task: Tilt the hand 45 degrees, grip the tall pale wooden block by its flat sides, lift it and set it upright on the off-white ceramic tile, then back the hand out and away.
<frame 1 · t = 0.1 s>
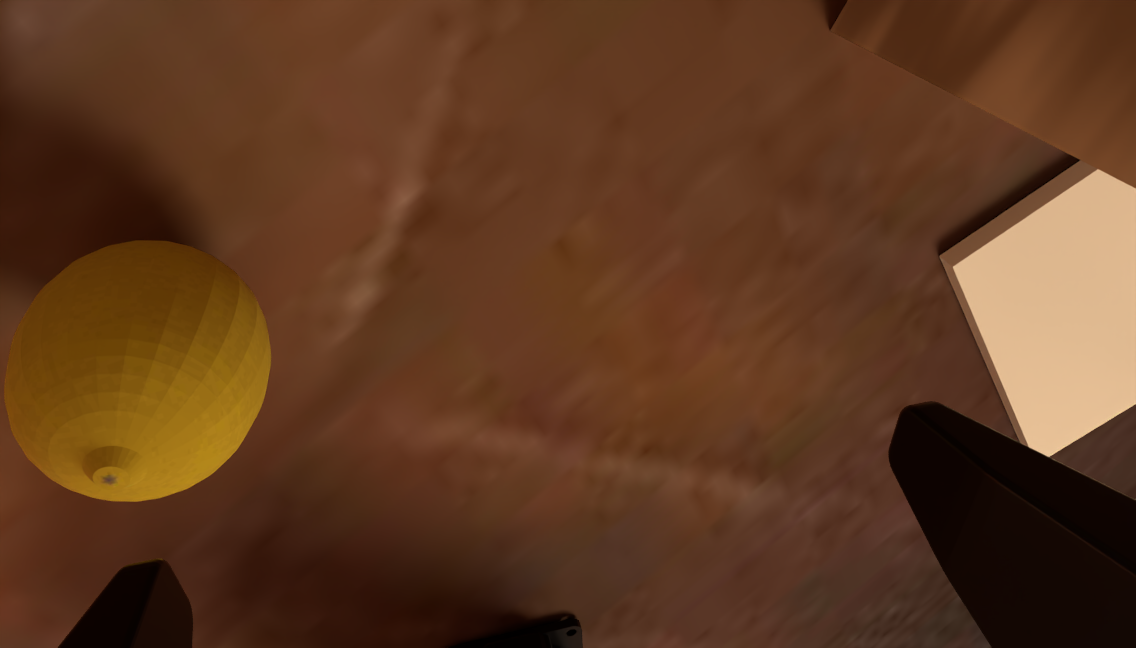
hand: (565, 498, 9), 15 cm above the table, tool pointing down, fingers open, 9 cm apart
lemon: (177, 275, 22), on the table
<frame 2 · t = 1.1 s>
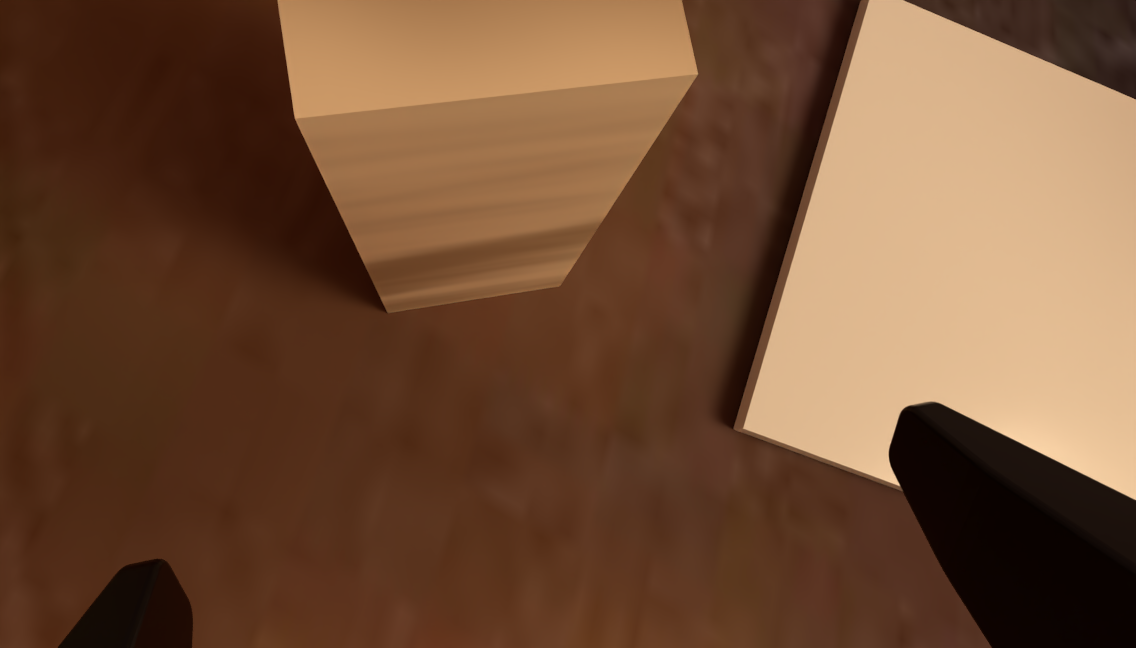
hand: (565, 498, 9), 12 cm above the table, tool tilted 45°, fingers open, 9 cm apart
wood block: (461, 216, 22), on the table
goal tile: (1012, 286, 25), on the table
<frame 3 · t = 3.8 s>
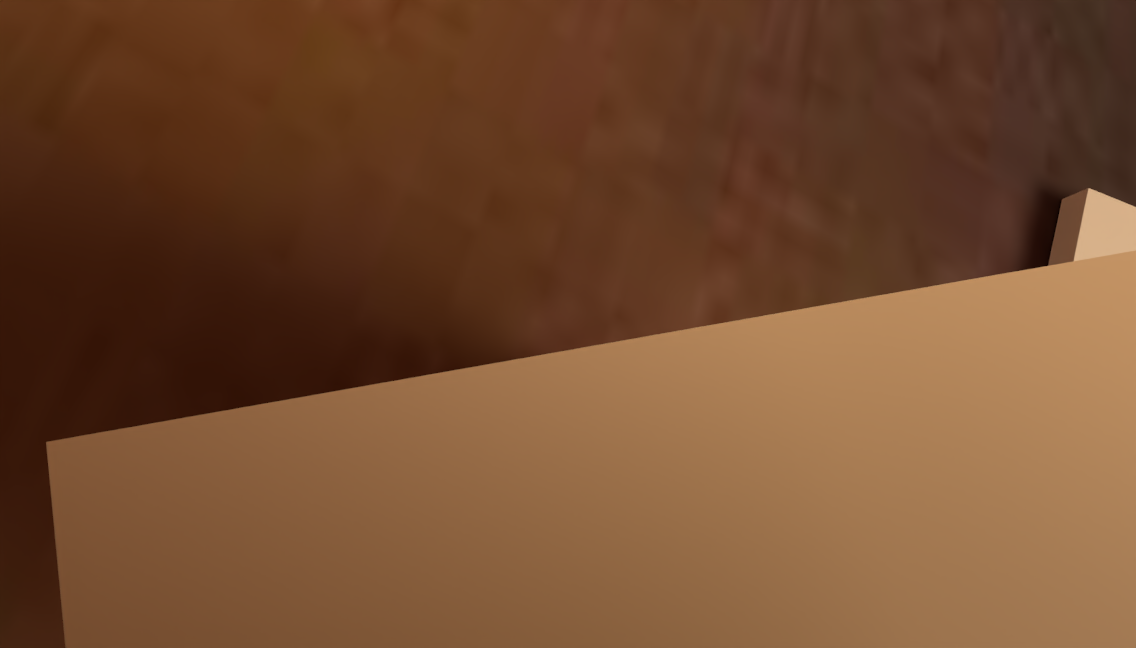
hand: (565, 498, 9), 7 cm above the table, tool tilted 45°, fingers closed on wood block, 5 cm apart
wood block: (531, 550, 16), on the table, touching gripper
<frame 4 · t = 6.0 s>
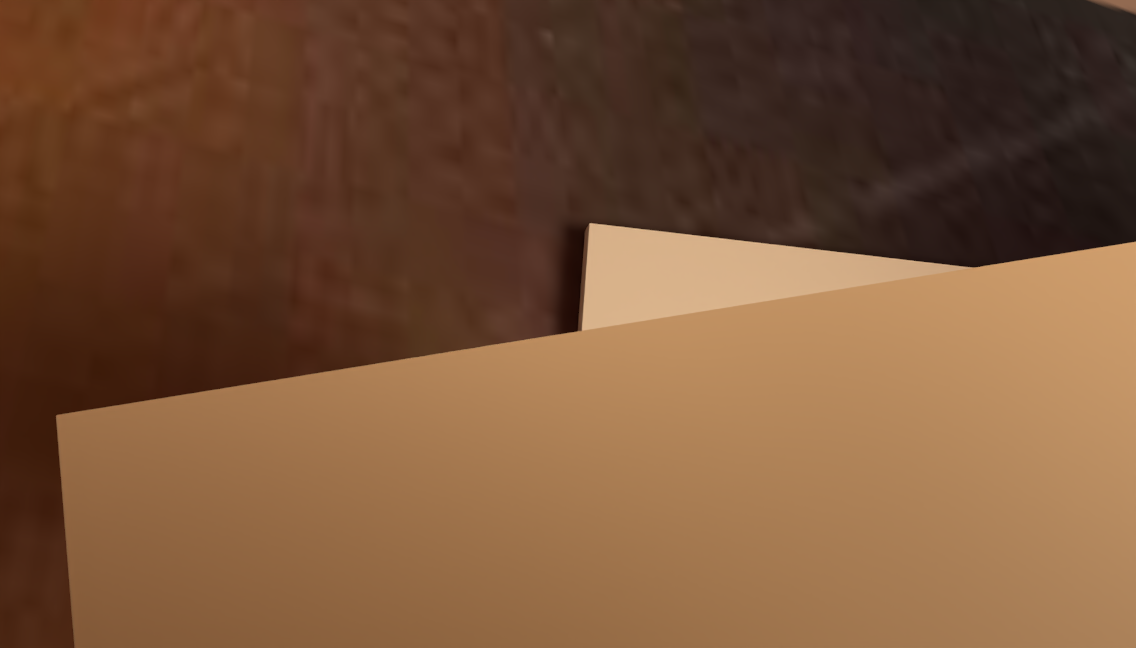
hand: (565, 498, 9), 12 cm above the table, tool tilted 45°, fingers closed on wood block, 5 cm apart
wood block: (538, 547, 16), point 6 cm above the table, touching gripper
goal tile: (817, 503, 23), on the table
when the fingers open (8 cm above the table, at t = 8.2 s): wood block stays where it is, resting on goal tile.
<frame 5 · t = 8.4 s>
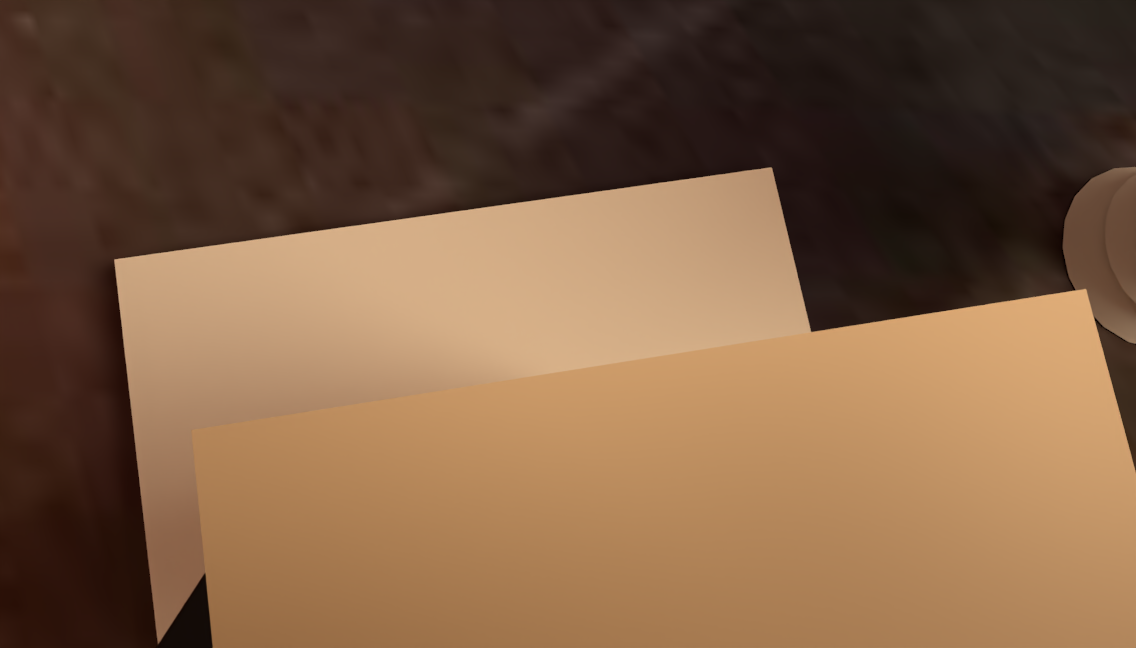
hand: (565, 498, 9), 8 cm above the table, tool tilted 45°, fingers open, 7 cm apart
wood block: (528, 543, 16), point 1 cm above the table, touching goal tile
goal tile: (523, 538, 17), on the table
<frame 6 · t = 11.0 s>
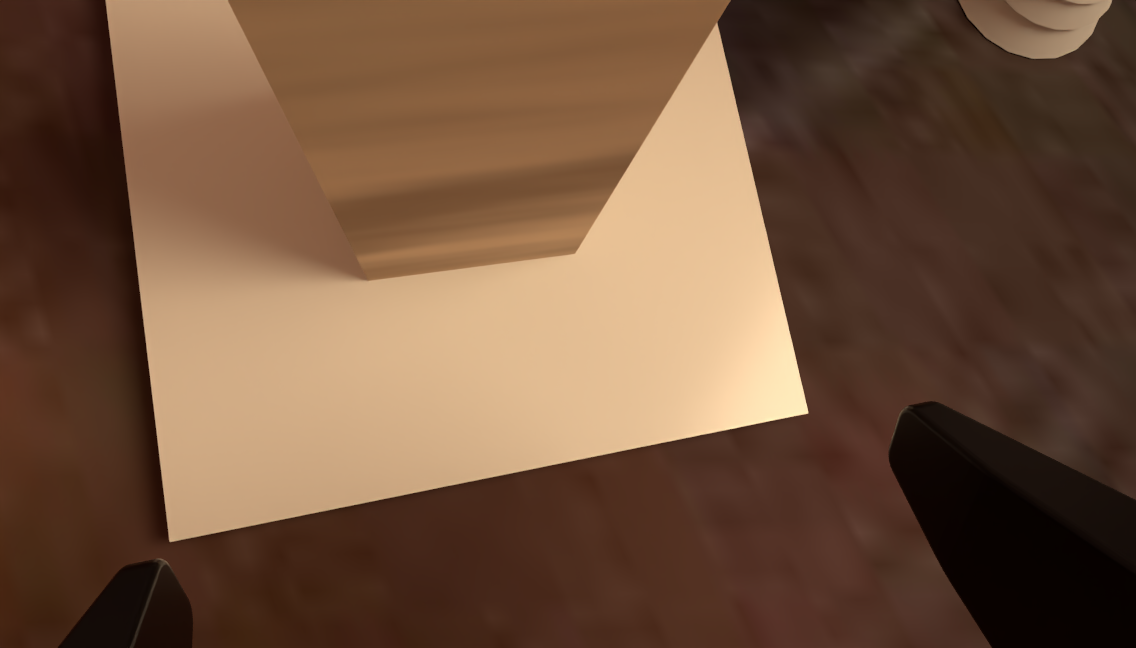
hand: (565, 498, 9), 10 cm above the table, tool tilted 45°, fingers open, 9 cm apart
wood block: (458, 168, 19), point 1 cm above the table, touching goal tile
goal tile: (457, 178, 20), on the table
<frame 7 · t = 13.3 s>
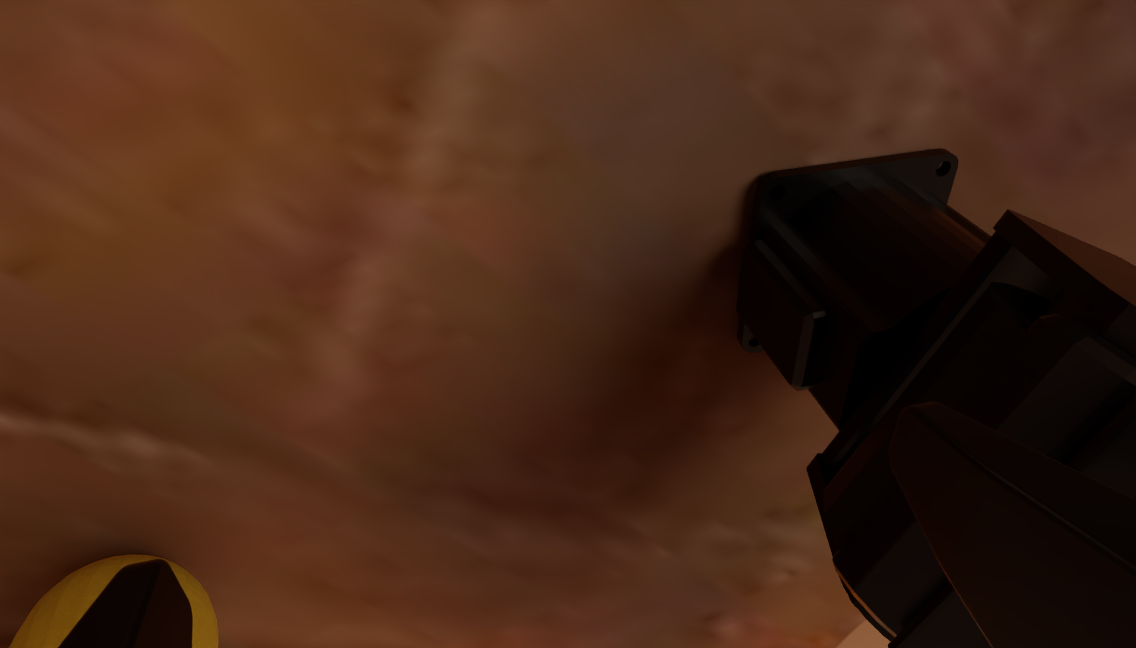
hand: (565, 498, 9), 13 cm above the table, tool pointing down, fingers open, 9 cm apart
lemon: (143, 553, 26), on the table
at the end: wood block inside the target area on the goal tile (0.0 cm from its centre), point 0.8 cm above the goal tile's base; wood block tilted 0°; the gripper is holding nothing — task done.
